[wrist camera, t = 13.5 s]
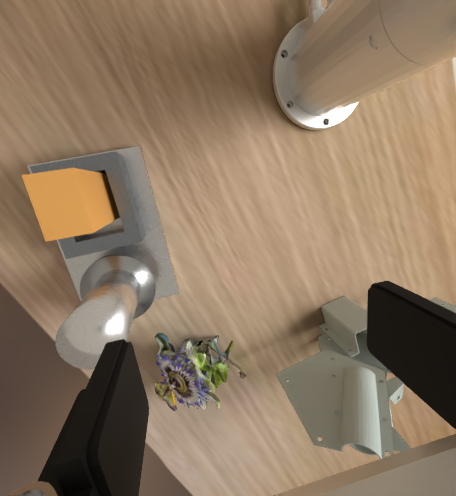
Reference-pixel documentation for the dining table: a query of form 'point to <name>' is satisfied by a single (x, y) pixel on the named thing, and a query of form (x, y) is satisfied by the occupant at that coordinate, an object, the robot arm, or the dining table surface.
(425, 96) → the dining table surface
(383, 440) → the bracket
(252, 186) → the dining table surface
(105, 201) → the tan rectangular block
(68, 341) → the gray socket post fixture
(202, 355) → the passion flower
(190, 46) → the dining table surface
